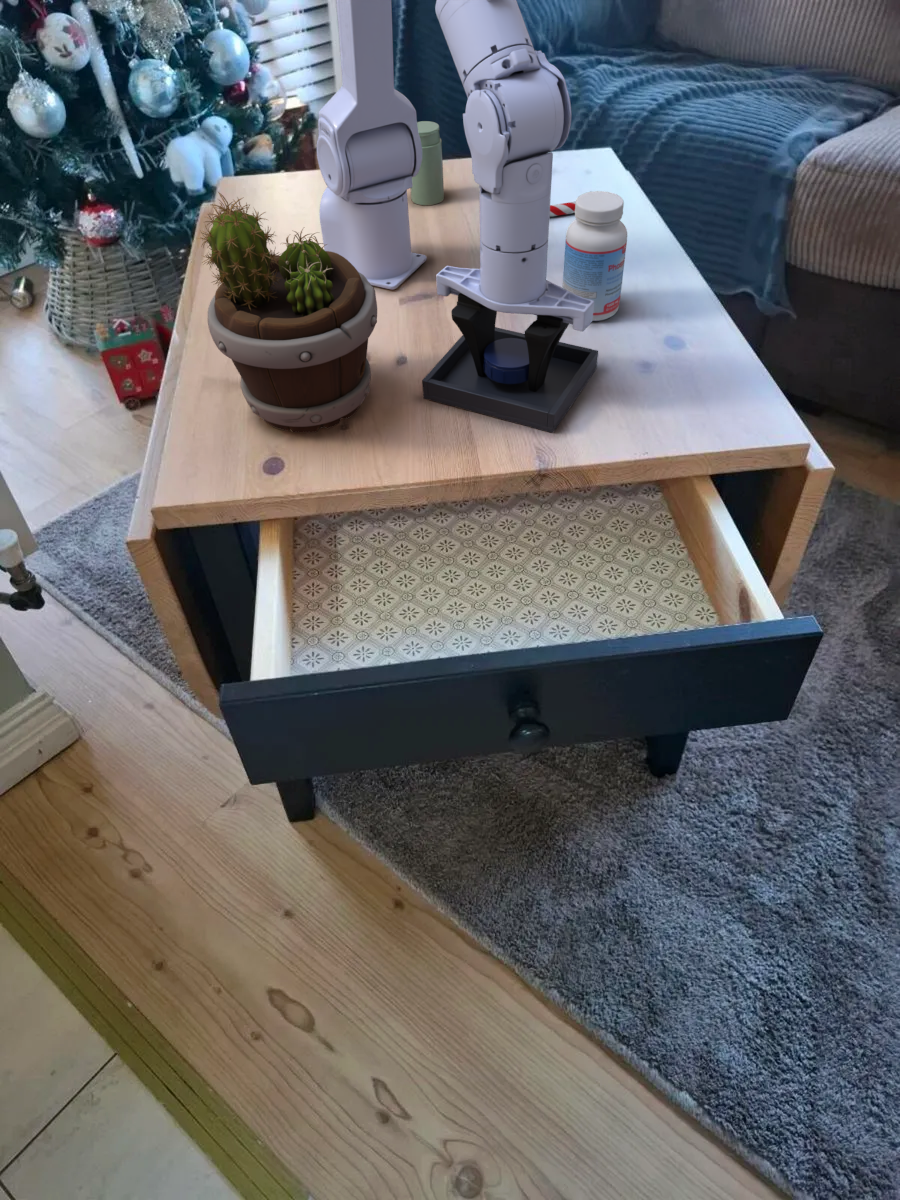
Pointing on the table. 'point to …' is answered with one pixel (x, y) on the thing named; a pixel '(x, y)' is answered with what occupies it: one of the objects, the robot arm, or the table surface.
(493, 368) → the jar lid
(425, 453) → the table surface
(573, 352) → the tray
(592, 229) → the pill bottle
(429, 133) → the jar
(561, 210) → the candy cane
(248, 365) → the flowerpot
